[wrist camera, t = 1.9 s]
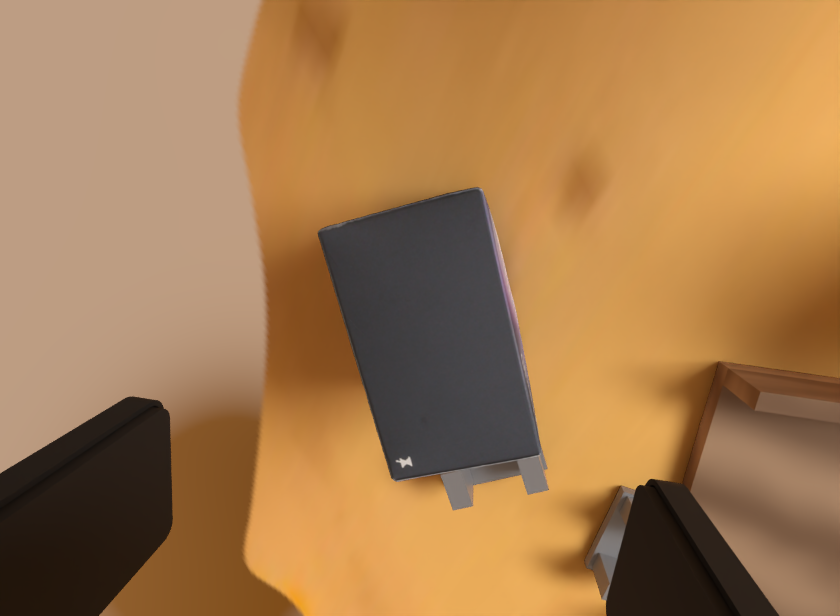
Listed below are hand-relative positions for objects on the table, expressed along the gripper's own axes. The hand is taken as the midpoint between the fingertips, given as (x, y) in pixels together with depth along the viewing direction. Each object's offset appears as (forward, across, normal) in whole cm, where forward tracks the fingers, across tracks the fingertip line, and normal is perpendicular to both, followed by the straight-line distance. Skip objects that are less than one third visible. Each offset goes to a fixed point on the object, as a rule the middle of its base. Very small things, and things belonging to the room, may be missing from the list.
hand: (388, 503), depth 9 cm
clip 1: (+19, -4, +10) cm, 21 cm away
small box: (+19, 0, 0) cm, 19 cm away
